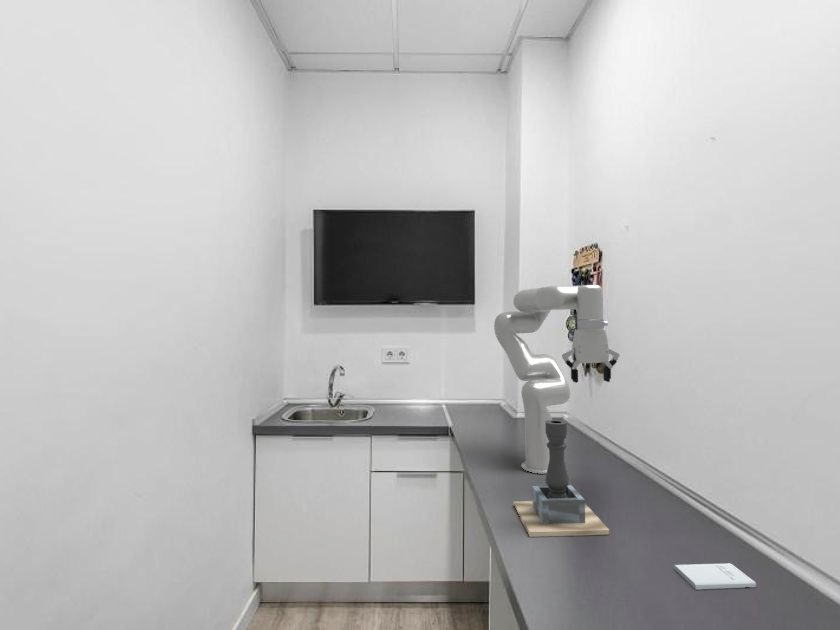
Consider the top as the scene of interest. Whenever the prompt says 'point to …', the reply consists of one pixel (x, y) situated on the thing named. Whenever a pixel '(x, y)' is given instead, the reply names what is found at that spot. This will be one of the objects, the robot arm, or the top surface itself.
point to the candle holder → (556, 459)
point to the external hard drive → (714, 576)
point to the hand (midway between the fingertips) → (591, 381)
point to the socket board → (558, 515)
